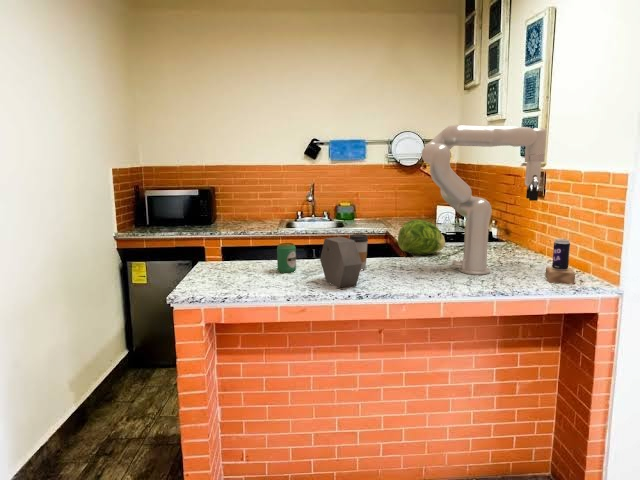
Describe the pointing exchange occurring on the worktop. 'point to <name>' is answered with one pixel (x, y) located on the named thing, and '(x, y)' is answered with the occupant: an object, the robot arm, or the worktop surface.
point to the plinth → (560, 276)
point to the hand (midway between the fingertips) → (531, 199)
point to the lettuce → (420, 238)
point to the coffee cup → (361, 247)
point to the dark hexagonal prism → (340, 261)
